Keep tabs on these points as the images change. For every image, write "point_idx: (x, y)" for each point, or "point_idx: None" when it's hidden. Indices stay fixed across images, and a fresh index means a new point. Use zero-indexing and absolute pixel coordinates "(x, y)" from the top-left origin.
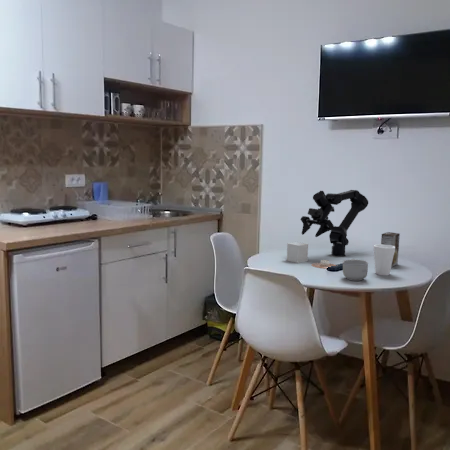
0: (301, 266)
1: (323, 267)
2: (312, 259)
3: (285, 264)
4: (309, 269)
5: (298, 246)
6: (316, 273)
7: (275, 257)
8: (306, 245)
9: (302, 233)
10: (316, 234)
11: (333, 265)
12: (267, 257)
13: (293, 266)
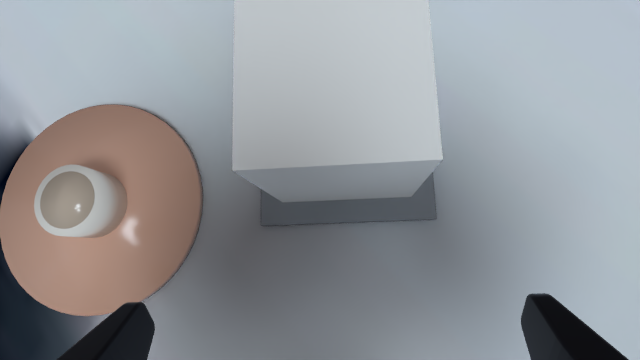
0: (211, 63)
1: (66, 148)
2: (350, 346)
3: None
4: (120, 50)
5: (238, 1)
6: (28, 16)
7: (584, 98)
8: (236, 141)
9: (529, 305)
10: (99, 327)
11: (58, 274)
12: (615, 36)
13: None
